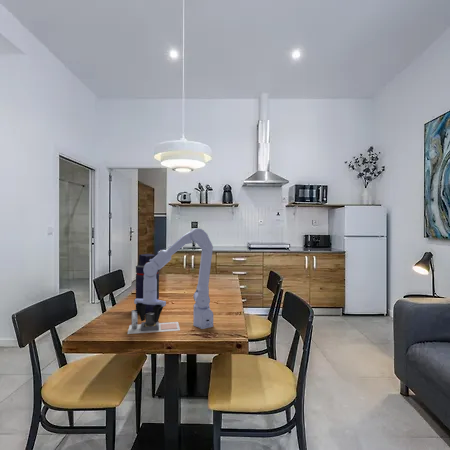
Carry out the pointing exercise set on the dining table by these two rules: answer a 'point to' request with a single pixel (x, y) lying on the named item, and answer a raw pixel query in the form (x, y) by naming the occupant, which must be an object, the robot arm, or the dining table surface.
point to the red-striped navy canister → (140, 277)
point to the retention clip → (134, 319)
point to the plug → (149, 319)
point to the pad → (169, 326)
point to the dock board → (150, 328)
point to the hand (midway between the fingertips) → (149, 321)
